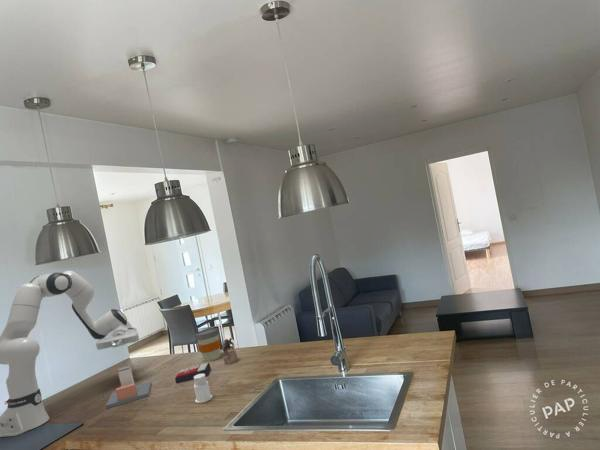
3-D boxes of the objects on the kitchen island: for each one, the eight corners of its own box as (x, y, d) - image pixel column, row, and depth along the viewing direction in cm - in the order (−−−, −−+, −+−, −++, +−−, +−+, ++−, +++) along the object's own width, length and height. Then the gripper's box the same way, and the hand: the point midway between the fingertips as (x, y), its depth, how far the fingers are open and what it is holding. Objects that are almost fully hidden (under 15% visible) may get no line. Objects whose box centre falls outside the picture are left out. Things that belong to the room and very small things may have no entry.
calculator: (179, 369, 221) (208, 361, 221) (182, 377, 221) (211, 369, 221) (174, 377, 210) (205, 368, 210) (176, 385, 210) (207, 377, 210)
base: (106, 408, 195) (103, 394, 195) (113, 395, 213) (110, 382, 213) (148, 396, 200) (145, 382, 200) (151, 384, 217) (148, 371, 217)
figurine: (226, 360, 230) (221, 338, 229) (239, 358, 229) (234, 335, 229) (223, 365, 222) (218, 342, 222) (236, 362, 222) (231, 339, 222)
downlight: (191, 400, 182) (187, 377, 182) (206, 393, 186) (202, 371, 186) (200, 405, 176) (196, 381, 175) (216, 398, 180) (211, 374, 180)
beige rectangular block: (123, 395, 204) (117, 370, 203) (124, 392, 208) (119, 368, 207) (134, 391, 205) (129, 367, 205) (135, 389, 209) (130, 365, 209)
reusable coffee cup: (213, 362, 231) (207, 334, 231) (196, 362, 238) (190, 335, 238) (228, 353, 242) (222, 327, 242) (212, 354, 249) (206, 328, 249)
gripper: (98, 335, 230) (92, 344, 217) (138, 326, 235) (135, 335, 221) (100, 347, 231) (94, 356, 218) (141, 338, 235) (137, 347, 222)
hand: (115, 345), depth 220 cm, fingers closed
